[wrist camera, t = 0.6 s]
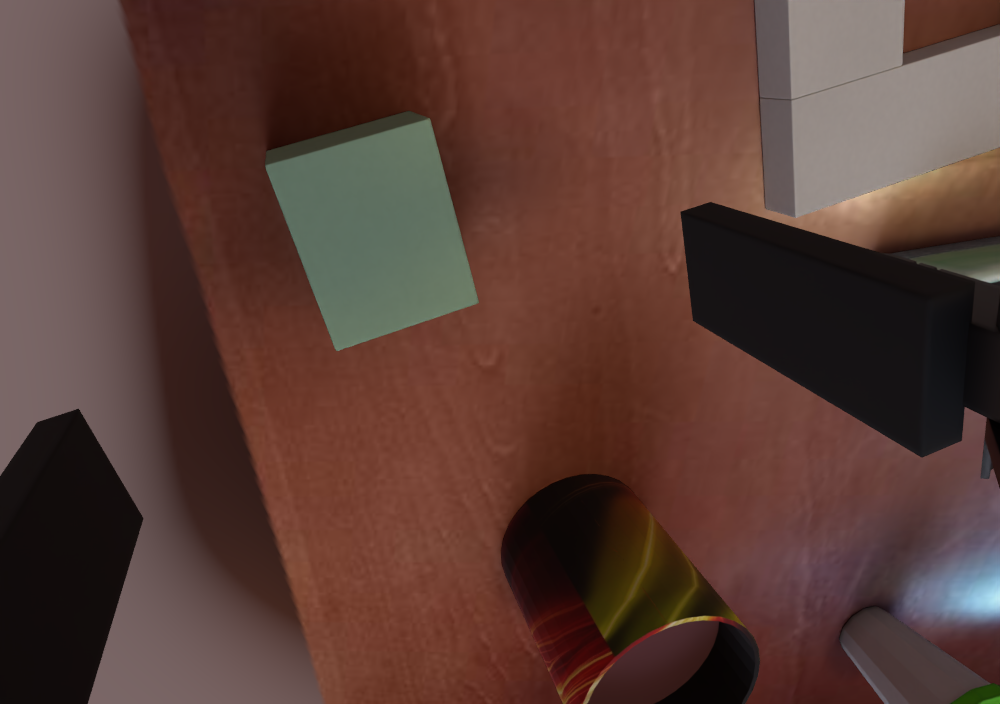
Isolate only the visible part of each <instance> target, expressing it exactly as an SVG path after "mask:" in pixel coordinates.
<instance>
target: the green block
mask: <svg viewBox="0 0 1000 704" xmlns="http://www.w3.org/2000/svg"><path fill="white" fill-rule="evenodd" d="M265 168H266V170H267V173H268V176H269V178H270V181H271V183H272V186H273V189H274V191H275V194H276V196H277V199H278V202H279V204H280V207H281V209H282V212H283V215H284V217H285V220H286V222H287V225H288V228H289V230H290V233H291V235H292V238H293V241H294V243H295V246H296V248H297V251H298V254H299V256H300V259H301V261H302V264H303V267H304V269H305V272H306V274H307V277H308V280H309V282H310V285H311V288H312V290H313V293H314V295H315V298H316V301H317V303H318V306H319V308H320V311H321V314H322V316H323V319H324V321H325V324H326V327H327V329H328V332H329V334H330V337H331V340H332V342H333V345H334V347H335V350H336V351H339V350H342V349H344V348H347V347H350V346H353V345H356V344H359V343H362V342H365V341H368V340H371V339H374V338H377V337H380V336H383V335H386V334H389V333H392V332H395V331H398V330H401V329H404V328H406V327H409V326H412V325H415V324H418V323H421V322H424V321H427V320H430V319H433V318H436V317H439V316H442V315H445V314H448V313H451V312H454V311H457V310H460V309H463V308H466V307H469V306H471V305H474V304H477V303H479V301H478V297H477V293H476V289H475V286H474V282H473V278H472V274H471V270H470V267H469V263H468V259H467V255H466V252H465V248H464V244H463V240H462V237H461V233H460V229H459V225H458V222H457V218H456V214H455V210H454V207H453V203H452V199H451V195H450V192H449V188H448V184H447V180H446V177H445V173H444V169H443V165H442V162H441V158H440V154H439V150H438V147H437V143H436V139H435V135H434V131H433V128H432V124H431V120H430V118H427V117H425V116H422V115H419V114H416V113H414V112H411V111H407V112H403V113H400V114H396V115H393V116H389V117H385V118H382V119H378V120H375V121H371V122H368V123H364V124H361V125H357V126H354V127H350V128H347V129H343V130H339V131H336V132H332V133H329V134H325V135H322V136H318V137H315V138H311V139H308V140H304V141H300V142H297V143H293V144H290V145H286V146H283V147H279V148H276V149H272V150H269V151H266V160H265Z"/></svg>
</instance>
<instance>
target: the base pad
mask: <svg viewBox="0 0 1000 704" xmlns="http://www.w3.org/2000/svg"><path fill="white" fill-rule="evenodd" d="M904 9H905V0H755V19H756V38H757V56H758V75H759V94H760V97H761V98H760V112H761V130H762V149H763V168H764V186H765V205H766V209H768V210H771V211H775V212H778V213H781V214H785V215H788V216H791V217H795V218H796V217H799V216H802V215H805V214H808V213H811V212H814V211H817V210H820V209H823V208H825V207H828V206H831V205H834V204H837V203H840V202H843V201H846V200H849V199H852V198H854V197H857V196H860V195H863V194H866V193H869V192H872V191H875V190H878V189H881V188H883V187H886V186H889V185H892V184H895V183H898V182H901V181H904V180H907V179H910V178H912V177H915V176H918V175H921V174H924V173H927V172H930V171H933V170H936V169H938V168H941V167H944V166H947V165H950V164H953V163H956V162H959V161H962V160H965V159H967V158H970V157H973V156H976V155H979V154H982V153H985V152H988V151H991V150H994V149H996V148H999V147H1000V24H998V25H995V26H992V27H989V28H985V29H982V30H979V31H976V32H972V33H969V34H966V35H962V36H959V37H956V38H953V39H949V40H946V41H943V42H940V43H936V44H933V45H930V46H927V47H923V48H920V49H917V50H914V51H910V52H907V53H904V54H903V36H904Z"/></svg>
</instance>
